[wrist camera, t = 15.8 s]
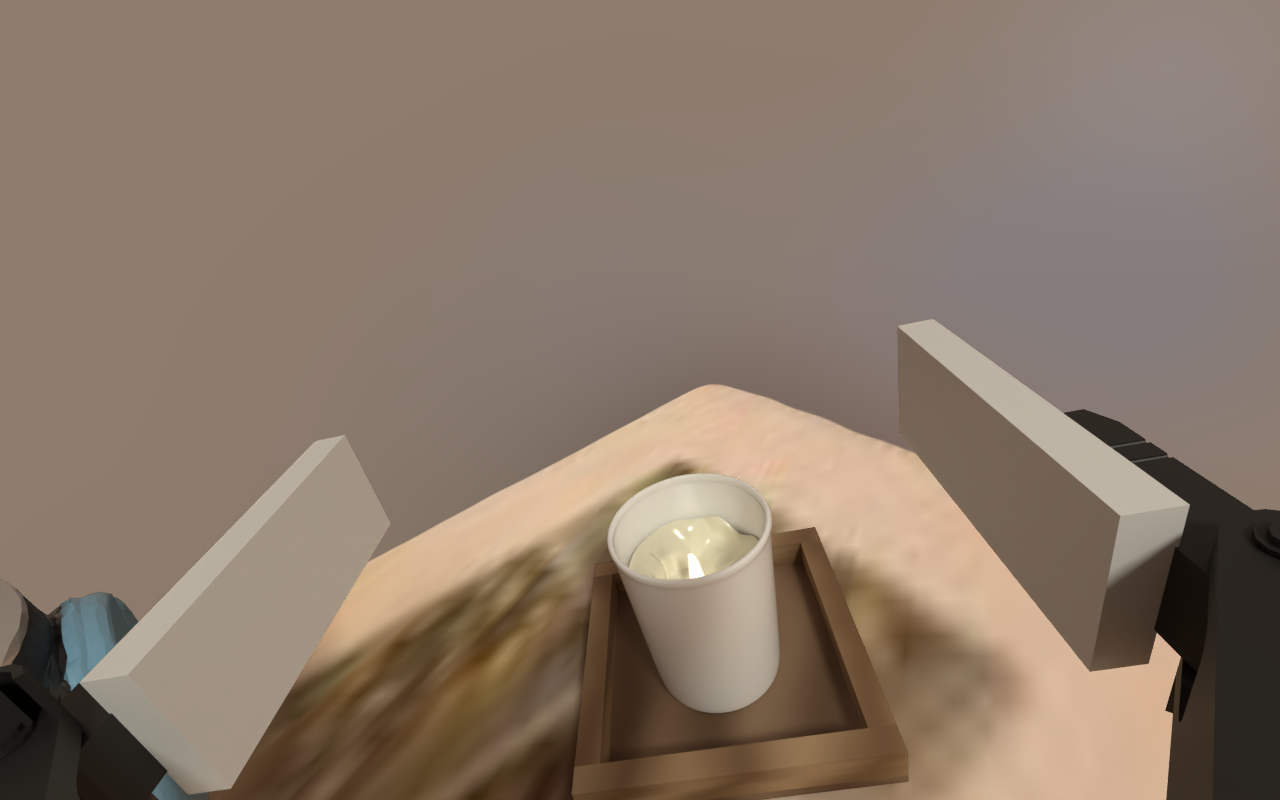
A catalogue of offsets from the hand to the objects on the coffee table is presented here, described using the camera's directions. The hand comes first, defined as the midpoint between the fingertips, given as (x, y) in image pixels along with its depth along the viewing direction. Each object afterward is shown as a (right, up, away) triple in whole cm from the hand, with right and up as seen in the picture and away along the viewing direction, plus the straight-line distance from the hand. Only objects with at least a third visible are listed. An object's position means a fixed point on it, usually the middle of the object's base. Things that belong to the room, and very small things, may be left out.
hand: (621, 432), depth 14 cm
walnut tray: (+6, -17, +26) cm, 32 cm away
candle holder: (+6, -17, +26) cm, 32 cm away
